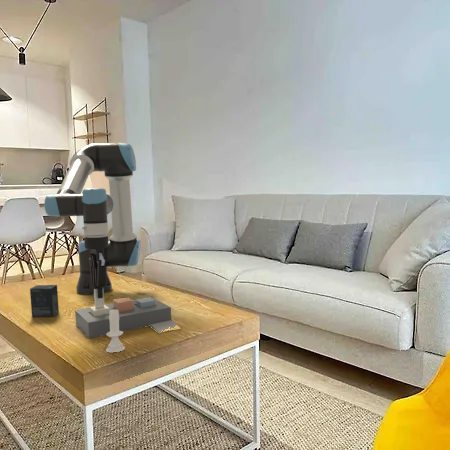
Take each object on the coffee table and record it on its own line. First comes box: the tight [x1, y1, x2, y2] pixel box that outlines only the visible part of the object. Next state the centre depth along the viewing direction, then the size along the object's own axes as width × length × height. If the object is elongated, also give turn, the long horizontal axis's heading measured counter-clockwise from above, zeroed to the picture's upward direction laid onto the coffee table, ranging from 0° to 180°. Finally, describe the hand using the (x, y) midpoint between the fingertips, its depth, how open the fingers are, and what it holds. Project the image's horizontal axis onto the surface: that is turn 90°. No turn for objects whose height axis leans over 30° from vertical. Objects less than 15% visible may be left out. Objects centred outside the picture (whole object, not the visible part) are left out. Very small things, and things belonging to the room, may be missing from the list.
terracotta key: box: [112, 297, 133, 312], centre depth 149 cm, size 5×5×4 cm
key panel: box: [74, 297, 172, 339], centre depth 149 cm, size 16×28×5 cm, turn 123°
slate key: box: [135, 297, 155, 308], centre depth 153 cm, size 5×5×4 cm
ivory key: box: [89, 304, 110, 317], centre depth 144 cm, size 5×5×4 cm
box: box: [29, 284, 60, 318], centre depth 160 cm, size 8×6×11 cm
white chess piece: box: [105, 309, 126, 354], centre depth 125 cm, size 5×5×12 cm
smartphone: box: [149, 319, 178, 333], centre depth 147 cm, size 8×1×15 cm
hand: (99, 307), depth 144 cm, fingers closed
